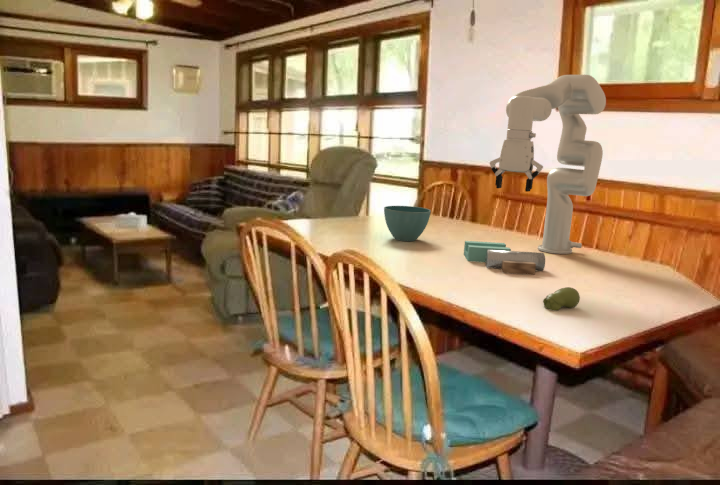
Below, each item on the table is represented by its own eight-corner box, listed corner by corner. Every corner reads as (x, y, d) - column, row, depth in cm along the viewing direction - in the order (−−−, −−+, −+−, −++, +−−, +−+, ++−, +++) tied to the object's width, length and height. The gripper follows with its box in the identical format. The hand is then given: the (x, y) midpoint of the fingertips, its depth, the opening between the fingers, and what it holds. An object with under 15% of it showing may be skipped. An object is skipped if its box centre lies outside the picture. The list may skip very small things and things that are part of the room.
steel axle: (539, 270, 195) (540, 252, 195) (544, 271, 189) (545, 252, 189) (484, 267, 195) (485, 249, 195) (488, 268, 189) (489, 249, 189)
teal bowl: (398, 233, 246) (400, 204, 243) (436, 240, 235) (439, 209, 233) (373, 238, 231) (375, 207, 229) (413, 246, 221) (415, 213, 218)
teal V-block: (502, 256, 210) (504, 243, 209) (509, 263, 199) (510, 249, 198) (463, 254, 211) (464, 240, 210) (468, 261, 200) (469, 246, 199)
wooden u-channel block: (525, 265, 198) (526, 255, 197) (534, 274, 186) (535, 264, 185) (495, 263, 198) (496, 253, 198) (502, 272, 186) (503, 262, 185)
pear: (584, 288, 150) (553, 297, 146) (584, 308, 151) (553, 317, 148) (568, 282, 155) (538, 291, 151) (568, 301, 156) (538, 310, 153)
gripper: (549, 137, 186) (543, 191, 189) (497, 134, 195) (491, 186, 198) (542, 137, 180) (536, 193, 183) (488, 134, 189) (483, 187, 192)
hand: (513, 189), depth 191 cm, fingers open, 9 cm apart
